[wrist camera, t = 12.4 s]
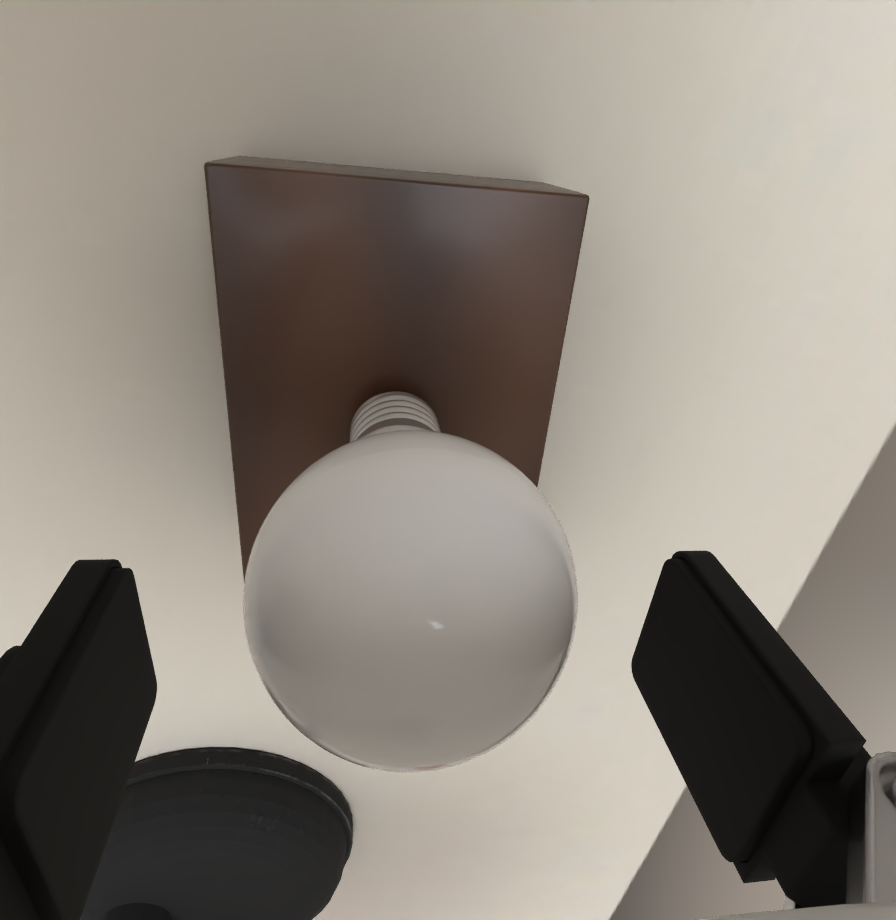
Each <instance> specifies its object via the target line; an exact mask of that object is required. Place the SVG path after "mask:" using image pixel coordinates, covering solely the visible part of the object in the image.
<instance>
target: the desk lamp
mask: <svg viewBox="0 0 896 920" xmlns="http://www.w3.org/2000/svg"><path fill="white" fill-rule="evenodd" d="M352 838H353V824H352V814H351V811H350V808H349V804H348V803H347V801H346V799H345V798H344V796H343V795H342V793H341V792H340V791H339V790H338V789H337V788H336V787H335V786H334V785H333V784H332V782H330V781H329V780H328V779H326V778H325V777H323V776H322V775H321V774H319V773H318V772H316V771H314V770H312V769H310V768H308V767H307V766H305V765H303V764H301V763H298V762H295V761H292V760H290V759H287V758H284V757H281V756H277V755H273V754H268V753H264V752H259V751H252V750H243V749H233V748H206V749H193V750H184V751H178V752H173V753H167V754H162V755H159V756H155V757H152V758H148V759H145V760H142V761H139V762H136V763H134V765H133V768H132V770H131V773H130V776H129V779H128V782H127V785H126V788H125V791H124V794H123V797H122V799H121V802H120V805H119V808H118V811H117V814H116V817H115V820H114V823H113V826H112V828H111V831H110V834H109V837H108V840H107V843H106V846H105V849H104V852H103V855H102V857H101V860H100V863H99V866H98V869H97V872H96V875H95V878H94V881H93V884H92V886H91V889H90V892H89V895H88V898H87V901H86V904H85V907H84V910H83V913H82V915H81V918H80V920H312V919H313V918H314V917H315V916H317V915H318V914H319V913H320V912H321V911H322V910H323V909H324V908H325V906H326V905H327V904H328V903H329V901H330V899H331V897H332V895H333V894H334V892H335V890H336V888H337V886H338V884H339V882H340V880H341V876H342V872H343V868H344V866H345V864H346V862H347V860H348V858H349V856H350V852H351V848H352Z"/></svg>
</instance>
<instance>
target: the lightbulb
mask: <svg viewBox="0 0 896 920" xmlns="http://www.w3.org/2000/svg"><path fill="white" fill-rule="evenodd" d="M577 610H578V591H577V579H576V572H575V566H574V562H573V557H572V553H571V550H570V547H569V544H568V541H567V538H566V535H565V533H564V530H563V528H562V526H561V524H560V522H559V520H558V518H557V516H556V514H555V512H554V511H553V509H552V507H551V506H550V504H549V503H548V501H547V500H546V498H545V497H544V496H543V494H542V493H541V492H540V491H539V489H538V488H537V487H536V486H535V485H534V484H533V483H532V481H531V480H530V479H529V478H528V477H527V476H526V475H525V474H524V473H522V472H521V471H520V470H519V469H518V468H517V467H516V466H514V465H513V464H512V463H510V462H509V461H508V460H506V459H505V458H503V457H502V456H500V455H499V454H497V453H495V452H494V451H492V450H490V449H488V448H486V447H484V446H482V445H480V444H478V443H475V442H473V441H470V440H468V439H465V438H462V437H459V436H455V435H451V434H447V433H442V432H440V428H439V423H438V420H437V417H436V415H435V413H434V411H433V410H432V409H431V407H430V406H429V405H428V404H427V403H426V402H425V401H423V400H422V399H421V398H419V397H417V396H415V395H413V394H410V393H406V392H399V391H391V392H385V393H381V394H378V395H376V396H374V397H372V398H370V399H368V400H367V401H366V402H364V403H363V404H362V405H361V406H360V407H359V409H358V410H357V412H356V413H355V415H354V417H353V419H352V423H351V428H350V442H349V443H347V444H345V445H343V446H341V447H339V448H337V449H335V450H333V451H331V452H329V453H328V454H326V455H324V456H323V457H321V458H320V459H318V460H317V461H316V462H314V463H313V464H312V465H310V466H309V467H308V468H307V469H305V470H304V471H303V472H302V473H301V474H300V475H299V476H298V477H297V478H295V479H294V481H293V482H292V483H291V484H290V485H289V486H288V487H287V488H286V489H285V490H284V492H283V493H282V494H281V495H280V497H279V498H278V499H277V501H276V502H275V504H274V505H273V506H272V508H271V510H270V511H269V513H268V515H267V516H266V518H265V520H264V522H263V524H262V526H261V528H260V530H259V532H258V534H257V537H256V539H255V542H254V545H253V548H252V551H251V554H250V557H249V561H248V565H247V570H246V575H245V582H244V594H243V614H244V625H245V632H246V637H247V642H248V646H249V650H250V653H251V657H252V659H253V662H254V665H255V668H256V670H257V672H258V675H259V677H260V679H261V681H262V683H263V685H264V687H265V689H266V690H267V692H268V694H269V695H270V697H271V698H272V700H273V701H274V703H275V704H276V706H277V707H278V708H279V710H280V711H281V712H282V713H283V714H284V716H285V717H286V718H287V719H288V720H289V721H290V722H291V723H292V724H293V725H294V726H295V727H296V728H297V729H298V730H299V731H300V732H301V733H302V734H304V735H305V736H306V737H307V738H309V739H310V740H311V741H313V742H314V743H315V744H317V745H318V746H320V747H322V748H323V749H325V750H327V751H328V752H330V753H332V754H334V755H336V756H338V757H340V758H342V759H344V760H347V761H349V762H352V763H355V764H358V765H361V766H364V767H368V768H372V769H377V770H383V771H390V772H426V771H433V770H439V769H444V768H448V767H452V766H456V765H459V764H462V763H465V762H467V761H470V760H472V759H475V758H477V757H479V756H481V755H483V754H485V753H487V752H489V751H491V750H492V749H494V748H496V747H497V746H499V745H500V744H502V743H503V742H505V741H506V740H507V739H509V738H510V737H511V736H513V735H514V734H515V733H516V732H517V731H519V730H520V729H521V728H522V727H523V726H524V725H525V724H526V723H527V722H528V721H529V720H530V719H531V718H532V717H533V716H534V715H535V713H536V712H537V711H538V710H539V709H540V707H541V706H542V705H543V703H544V702H545V701H546V699H547V698H548V696H549V695H550V693H551V692H552V690H553V688H554V687H555V685H556V683H557V681H558V679H559V677H560V675H561V673H562V671H563V669H564V666H565V664H566V661H567V658H568V655H569V652H570V649H571V646H572V642H573V638H574V633H575V627H576V621H577Z"/></svg>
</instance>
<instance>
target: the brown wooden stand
mask: <svg viewBox="0 0 896 920" xmlns="http://www.w3.org/2000/svg"><path fill="white" fill-rule="evenodd" d="M204 170H205V181H206V191H207V202H208V212H209V222H210V233H211V243H212V254H213V264H214V274H215V285H216V295H217V306H218V316H219V326H220V337H221V347H222V358H223V368H224V378H225V389H226V399H227V410H228V420H229V430H230V441H231V451H232V462H233V472H234V482H235V493H236V503H237V514H238V524H239V535H240V545H241V555H242V566H243V576H244V582H245V575H246V570H247V565H248V561H249V557H250V554H251V551H252V548H253V545H254V542H255V539H256V537H257V534H258V532H259V530H260V528H261V526H262V524H263V522H264V520H265V518H266V516H267V515H268V513H269V511H270V510H271V508H272V506H273V505H274V504H275V502H276V501H277V499H278V498H279V497H280V495H281V494H282V493H283V492H284V490H285V489H286V488H287V487H288V486H289V485H290V484H291V483H292V482H293V481H294V479H295V478H297V477H298V476H299V475H300V474H301V473H302V472H303V471H304V470H305V469H307V468H308V467H309V466H310V465H312V464H313V463H314V462H316V461H317V460H318V459H320V458H321V457H323V456H324V455H326V454H328V453H329V452H331V451H333V450H335V449H337V448H339V447H341V446H343V445H345V444H347V443H349V442H350V428H351V423H352V419H353V417H354V415H355V413H356V412H357V410H358V409H359V407H360V406H361V405H362V404H363V403H364V402H366V401H367V400H368V399H370V398H372V397H374V396H376V395H378V394H381V393H385V392H391V391H399V392H406V393H410V394H413V395H415V396H417V397H419V398H421V399H422V400H423V401H425V402H426V403H427V404H428V405H429V406H430V407H431V409H432V410H433V411H434V413H435V415H436V417H437V420H438V423H439V428H440V432H442V433H447V434H451V435H455V436H459V437H462V438H465V439H468V440H470V441H473V442H475V443H478V444H480V445H482V446H484V447H486V448H488V449H490V450H492V451H494V452H495V453H497V454H499V455H500V456H502V457H503V458H505V459H506V460H508V461H509V462H510V463H512V464H513V465H514V466H516V467H517V468H518V469H519V470H520V471H521V472H522V473H524V474H525V475H526V476H527V477H528V478H529V479H530V480H531V481H532V483H533V484H534V485H535V486H536V487H537V486H538V480H539V475H540V469H541V464H542V458H543V453H544V447H545V442H546V436H547V431H548V425H549V420H550V414H551V408H552V403H553V397H554V392H555V386H556V381H557V375H558V370H559V364H560V359H561V353H562V348H563V342H564V337H565V331H566V325H567V320H568V314H569V309H570V303H571V298H572V292H573V287H574V281H575V276H576V270H577V265H578V259H579V253H580V248H581V242H582V237H583V231H584V226H585V220H586V215H587V209H588V204H589V196H588V195H586V194H582V193H579V192H576V191H572V190H568V189H565V188H561V187H557V186H553V185H550V184H546V183H542V182H530V181H519V180H508V179H496V178H485V177H474V176H462V175H451V174H440V173H428V172H417V171H406V170H394V169H383V168H372V167H360V166H349V165H338V164H326V163H315V162H304V161H292V160H281V159H270V158H258V157H247V156H236V157H230V158H225V159H219V160H214V161H211V162H207V163H205V165H204Z"/></svg>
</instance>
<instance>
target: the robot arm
mask: <svg viewBox="0 0 896 920" xmlns="http://www.w3.org/2000/svg"><path fill="white" fill-rule="evenodd" d="M632 674H633V677H634V680H635V682H636V684H637V686H638V688H639V690H640V692H641V694H642V696H643V698H644V700H645V702H646V704H647V706H648V708H649V710H650V712H651V714H652V716H653V718H654V720H655V722H656V724H657V726H658V728H659V730H660V732H661V734H662V736H663V738H664V740H665V742H666V744H667V746H668V748H669V750H670V752H671V754H672V756H673V758H674V760H675V762H676V764H677V766H678V768H679V770H680V772H681V774H682V776H683V778H684V781H685V783H686V785H687V787H688V789H689V791H690V792H691V795H692V797H693V799H694V801H695V802H696V805H697V806H698V809H699V810H700V813H701V815H702V816H703V819H704V821H705V823H706V825H707V827H708V829H709V831H710V833H711V835H712V837H713V839H714V841H715V843H716V845H717V847H718V849H719V851H720V852H721V854H722V856H723V857H724V858H725V859H726V860H728V861H729V862H733V863H734V865H735V867H736V869H737V871H738V873H739V875H740V877H741V879H742V881H743V883H749V882H759V881H768V880H774V879H775V878H776V879H777V880H778V882H779V884H780V886H781V888H782V889H783V891H784V893H785V900H784V908H783V910H778V911H767V912H757V913H747V914H738V915H729V916H721V917H712V918H703V919H695V920H896V752H883V753H879V754H876V755H875V756H873V757H871V756H870V755H869V754H868V752H867V751H866V750H865V749H864V748H863V745H864V743H865V742H866V740H865V739H864V737H863V736H862V735H861V734H860V732H859V731H858V730H857V729H856V728H855V726H854V725H853V724H852V723H851V721H850V720H849V719H848V718H847V717H846V716H845V714H844V713H843V712H842V711H841V709H840V708H839V707H838V706H837V704H836V703H835V702H834V701H833V700H832V699H831V697H830V696H829V695H828V694H827V692H826V691H825V690H824V689H823V687H822V686H821V685H820V684H819V683H818V681H817V680H816V679H815V678H814V677H813V675H812V674H811V673H810V672H809V670H808V669H807V668H806V667H805V666H804V664H803V663H802V662H801V661H800V660H799V658H798V657H797V656H796V655H795V653H794V652H793V651H792V650H791V649H790V647H789V646H788V645H787V644H786V643H785V641H784V640H783V639H782V638H781V636H780V635H779V634H778V633H777V632H776V630H775V629H774V628H773V627H772V625H771V624H770V623H769V622H768V621H767V619H766V618H765V617H764V616H763V615H762V613H761V612H760V611H759V610H758V608H757V607H756V606H755V605H754V604H753V602H752V601H751V600H750V599H749V597H748V596H747V595H746V594H745V593H744V591H743V590H742V589H741V588H740V587H739V585H738V584H737V583H736V582H735V580H734V579H733V578H732V577H731V576H730V574H729V573H728V572H727V571H726V570H725V568H724V567H723V566H722V565H721V563H720V562H719V561H718V560H717V559H716V557H715V556H714V555H713V554H712V553H711V552H708V551H679V552H676V553H675V554H674V555H673V556H672V558H671V559H668V560H666V561H665V563H664V565H663V568H662V571H661V574H660V577H659V580H658V583H657V586H656V589H655V592H654V595H653V598H652V601H651V604H650V607H649V610H648V613H647V616H646V619H645V622H644V625H643V628H642V631H641V634H640V637H639V640H638V643H637V646H636V649H635V652H634V655H633V658H632ZM156 693H157V681H156V676H155V671H154V667H153V662H152V657H151V653H150V648H149V644H148V639H147V634H146V630H145V625H144V620H143V616H142V611H141V606H140V602H139V597H138V592H137V588H136V583H135V578H134V574H133V571H132V570H131V569H130V568H122V566H121V563H120V562H119V561H118V560H115V559H110V560H78V561H76V562H75V563H74V564H73V565H72V567H71V568H70V570H69V571H68V573H67V575H66V576H65V578H64V579H63V581H62V582H61V584H60V586H59V587H58V589H57V590H56V592H55V593H54V595H53V597H52V598H51V600H50V601H49V603H48V604H47V606H46V608H45V609H44V611H43V612H42V614H41V615H40V617H39V619H38V620H37V622H36V623H35V625H34V626H33V628H32V630H31V631H30V633H29V634H28V636H27V637H26V639H25V641H24V642H23V644H22V645H21V646H14V647H12V648H10V649H9V650H7V651H6V652H5V653H4V655H3V656H2V657H1V658H0V920H80V918H81V915H82V913H83V910H84V907H85V904H86V901H87V898H88V895H89V892H90V889H91V886H92V884H93V881H94V878H95V875H96V872H97V869H98V866H99V863H100V860H101V857H102V855H103V852H104V849H105V846H106V843H107V840H108V837H109V834H110V831H111V828H112V826H113V823H114V820H115V817H116V814H117V811H118V808H119V805H120V802H121V799H122V797H123V794H124V791H125V788H126V785H127V782H128V779H129V776H130V773H131V770H132V768H133V765H134V762H135V759H136V756H137V753H138V750H139V747H140V744H141V741H142V739H143V736H144V733H145V730H146V727H147V724H148V721H149V718H150V715H151V712H152V710H153V707H154V703H155V699H156Z"/></svg>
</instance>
